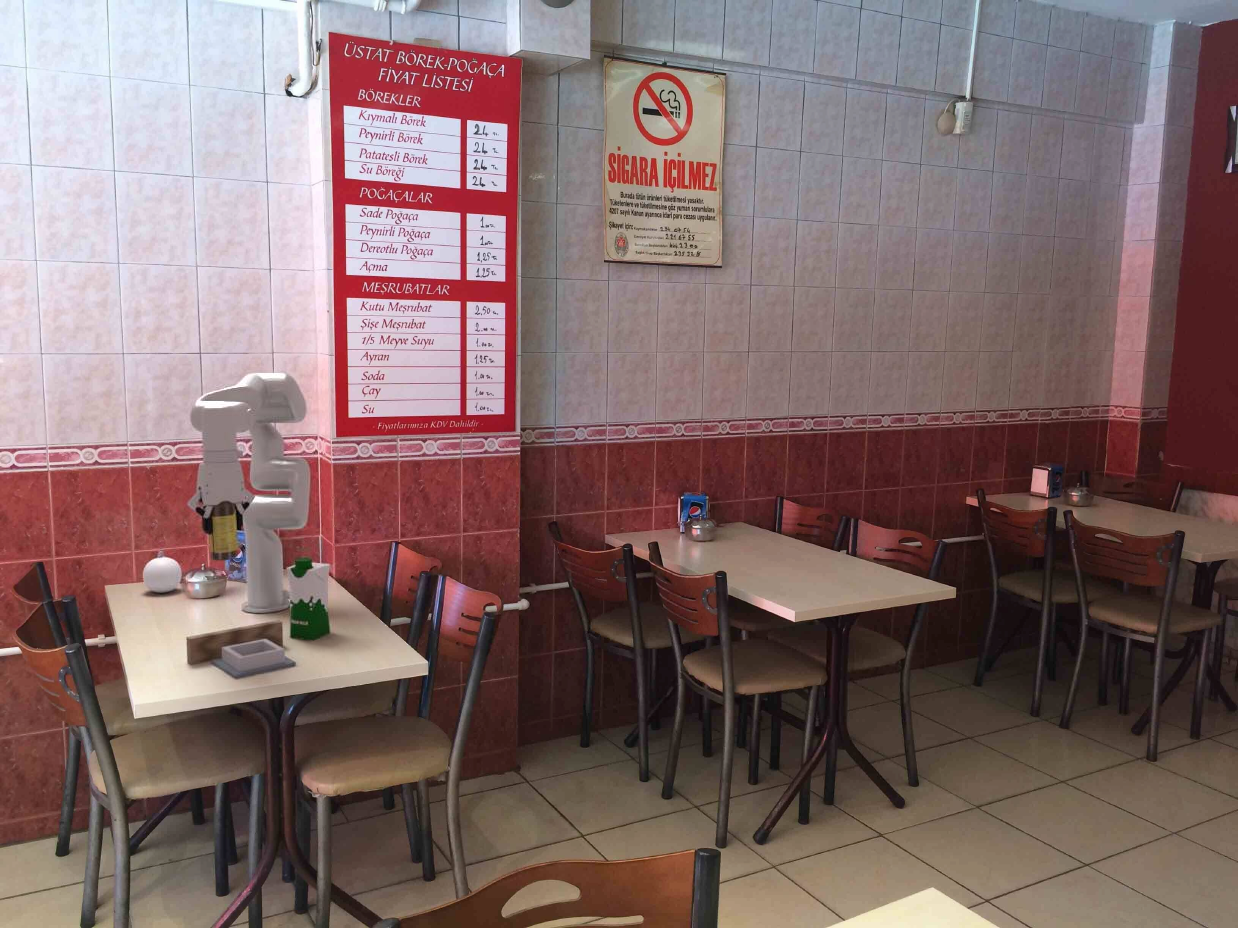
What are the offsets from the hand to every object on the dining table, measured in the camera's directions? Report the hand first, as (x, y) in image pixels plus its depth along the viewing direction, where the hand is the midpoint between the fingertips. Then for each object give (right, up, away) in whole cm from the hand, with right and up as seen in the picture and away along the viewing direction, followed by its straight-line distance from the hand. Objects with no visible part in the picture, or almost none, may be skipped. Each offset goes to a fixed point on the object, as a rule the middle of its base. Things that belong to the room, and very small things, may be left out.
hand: (223, 531), depth 238 cm
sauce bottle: (0, -7, +1) cm, 7 cm away
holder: (+10, -30, -8) cm, 33 cm away
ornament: (-39, -22, +54) cm, 70 cm away
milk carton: (+16, -28, +15) cm, 35 cm away
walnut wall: (+4, -29, -1) cm, 29 cm away
